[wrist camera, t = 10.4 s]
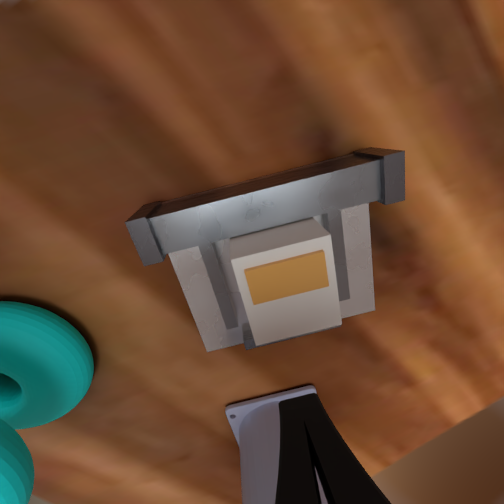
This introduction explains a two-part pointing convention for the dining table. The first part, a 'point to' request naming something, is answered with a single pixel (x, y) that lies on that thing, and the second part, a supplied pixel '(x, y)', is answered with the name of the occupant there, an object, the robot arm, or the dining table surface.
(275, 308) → the block
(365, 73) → the dining table surface
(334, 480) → the robot arm
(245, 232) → the rail
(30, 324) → the donuts
